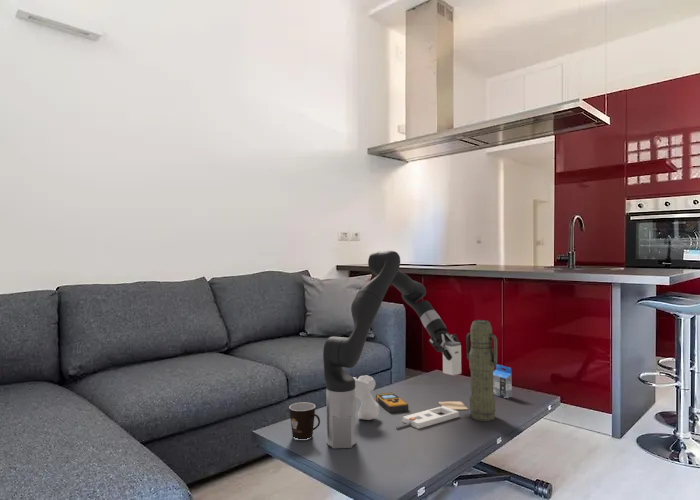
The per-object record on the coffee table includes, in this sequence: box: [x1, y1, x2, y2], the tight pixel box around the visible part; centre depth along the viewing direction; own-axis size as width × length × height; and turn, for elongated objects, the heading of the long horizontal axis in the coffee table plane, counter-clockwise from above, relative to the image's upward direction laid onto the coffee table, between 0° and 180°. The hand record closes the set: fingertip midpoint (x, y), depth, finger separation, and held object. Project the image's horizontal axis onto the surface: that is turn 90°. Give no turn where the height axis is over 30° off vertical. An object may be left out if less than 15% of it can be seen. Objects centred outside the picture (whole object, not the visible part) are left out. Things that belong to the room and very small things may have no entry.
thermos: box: [465, 319, 499, 422], centre depth 163 cm, size 9×12×35 cm
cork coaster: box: [438, 400, 469, 411], centre depth 175 cm, size 9×9×1 cm
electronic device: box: [375, 392, 409, 414], centre depth 176 cm, size 8×16×3 cm, turn 17°
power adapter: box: [442, 341, 462, 376], centre depth 175 cm, size 5×5×12 cm
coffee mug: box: [288, 401, 321, 439], centre depth 145 cm, size 12×9×10 cm
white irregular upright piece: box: [352, 374, 380, 421], centre depth 162 cm, size 10×11×15 cm
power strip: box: [395, 405, 460, 430], centre depth 159 cm, size 8×26×2 cm, turn 124°
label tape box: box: [493, 363, 513, 399], centre depth 188 cm, size 9×4×12 cm, turn 28°
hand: (455, 358), depth 173 cm, fingers closed on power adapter, 5 cm apart
